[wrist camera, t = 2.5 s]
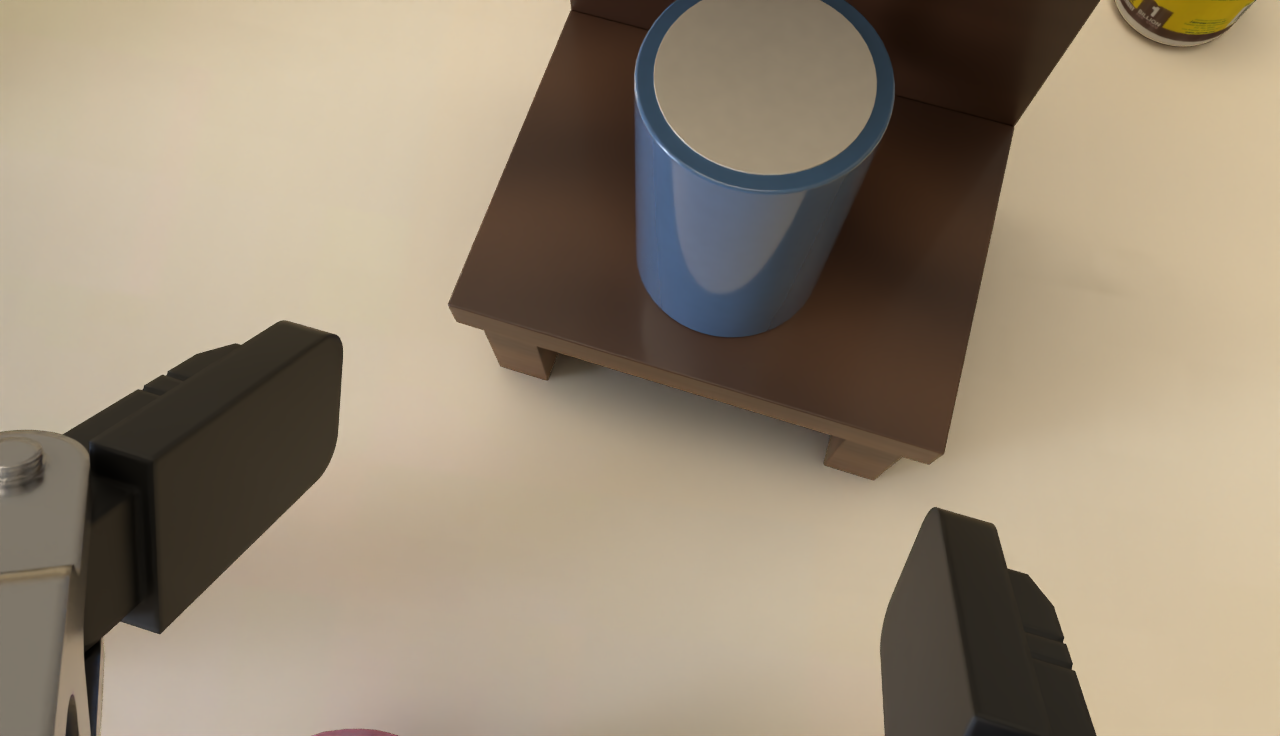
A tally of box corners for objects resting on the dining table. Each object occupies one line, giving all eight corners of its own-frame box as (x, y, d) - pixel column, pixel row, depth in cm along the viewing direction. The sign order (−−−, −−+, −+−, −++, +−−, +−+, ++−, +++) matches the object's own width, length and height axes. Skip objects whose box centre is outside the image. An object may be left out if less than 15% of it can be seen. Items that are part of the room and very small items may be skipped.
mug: (795, 361, 28) (863, 223, 19) (611, 307, 29) (598, 150, 20) (857, 136, 31) (942, -73, 22) (688, 91, 31) (706, -130, 23)
